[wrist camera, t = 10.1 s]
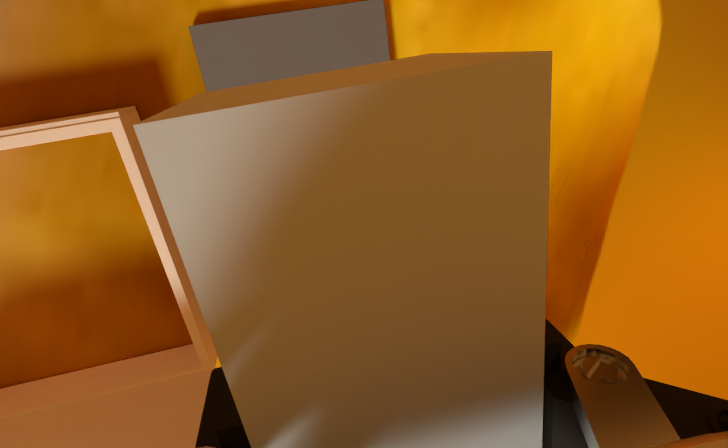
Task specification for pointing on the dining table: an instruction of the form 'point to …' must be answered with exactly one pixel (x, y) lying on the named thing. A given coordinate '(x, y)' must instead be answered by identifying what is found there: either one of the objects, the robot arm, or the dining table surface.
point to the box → (370, 247)
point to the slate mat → (290, 44)
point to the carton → (127, 377)
